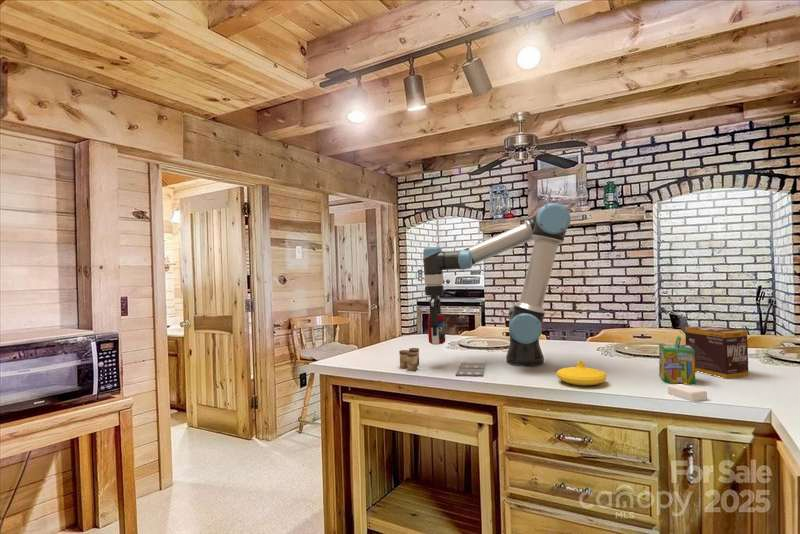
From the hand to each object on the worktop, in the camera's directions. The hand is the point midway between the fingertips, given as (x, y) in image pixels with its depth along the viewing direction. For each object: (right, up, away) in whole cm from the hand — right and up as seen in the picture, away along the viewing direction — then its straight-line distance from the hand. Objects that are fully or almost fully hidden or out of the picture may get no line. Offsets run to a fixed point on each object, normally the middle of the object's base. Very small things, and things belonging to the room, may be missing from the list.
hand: (437, 342), depth 178 cm
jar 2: (-9, -11, +6) cm, 15 cm away
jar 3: (-10, -11, -3) cm, 15 cm away
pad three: (+12, -10, -11) cm, 19 cm away
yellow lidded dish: (+46, -9, -29) cm, 56 cm away
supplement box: (+97, -7, -22) cm, 100 cm away
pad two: (+14, -10, 0) cm, 17 cm away
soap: (+70, -8, -48) cm, 85 cm away
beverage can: (0, -1, 0) cm, 1 cm away
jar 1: (-13, -11, +2) cm, 17 cm away
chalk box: (+78, -8, -31) cm, 84 cm away
